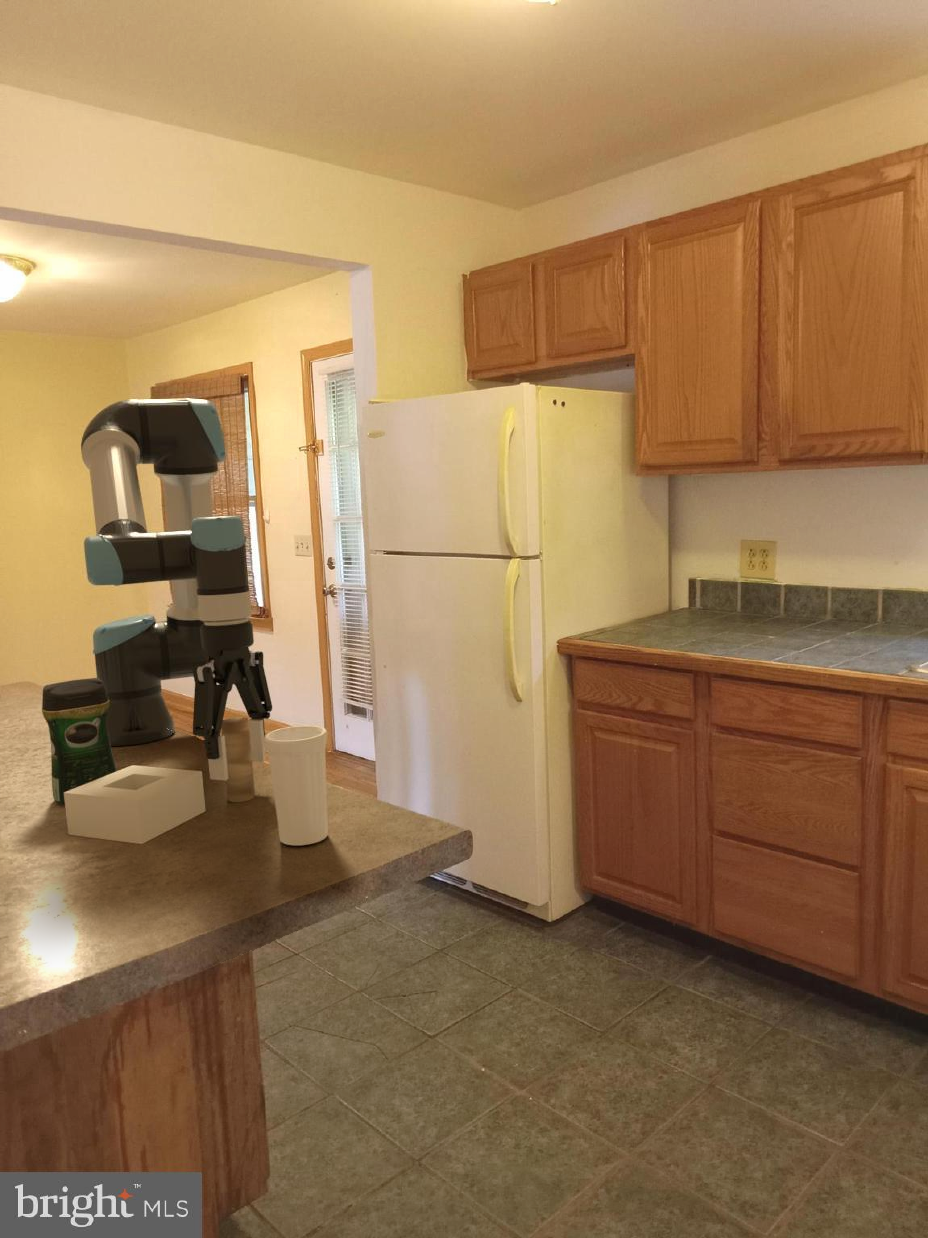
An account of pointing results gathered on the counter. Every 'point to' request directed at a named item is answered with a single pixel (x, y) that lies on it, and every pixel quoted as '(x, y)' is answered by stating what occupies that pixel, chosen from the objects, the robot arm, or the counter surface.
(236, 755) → the dowel
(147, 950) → the counter surface
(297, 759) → the cup
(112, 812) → the socket block
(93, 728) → the coffee jar
